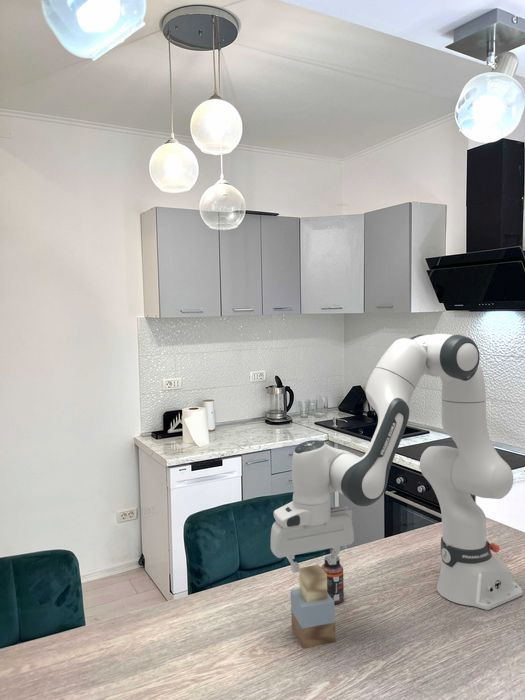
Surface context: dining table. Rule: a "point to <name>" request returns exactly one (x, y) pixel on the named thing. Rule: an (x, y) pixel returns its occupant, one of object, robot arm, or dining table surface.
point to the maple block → (313, 583)
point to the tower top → (312, 610)
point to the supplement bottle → (334, 580)
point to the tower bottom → (314, 634)
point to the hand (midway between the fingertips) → (313, 567)
